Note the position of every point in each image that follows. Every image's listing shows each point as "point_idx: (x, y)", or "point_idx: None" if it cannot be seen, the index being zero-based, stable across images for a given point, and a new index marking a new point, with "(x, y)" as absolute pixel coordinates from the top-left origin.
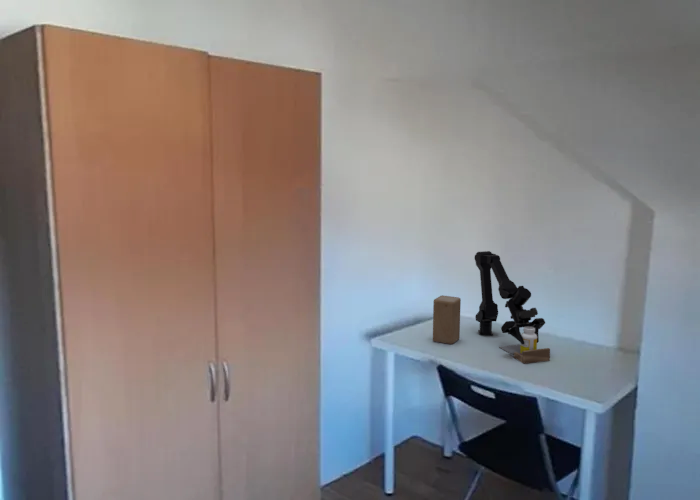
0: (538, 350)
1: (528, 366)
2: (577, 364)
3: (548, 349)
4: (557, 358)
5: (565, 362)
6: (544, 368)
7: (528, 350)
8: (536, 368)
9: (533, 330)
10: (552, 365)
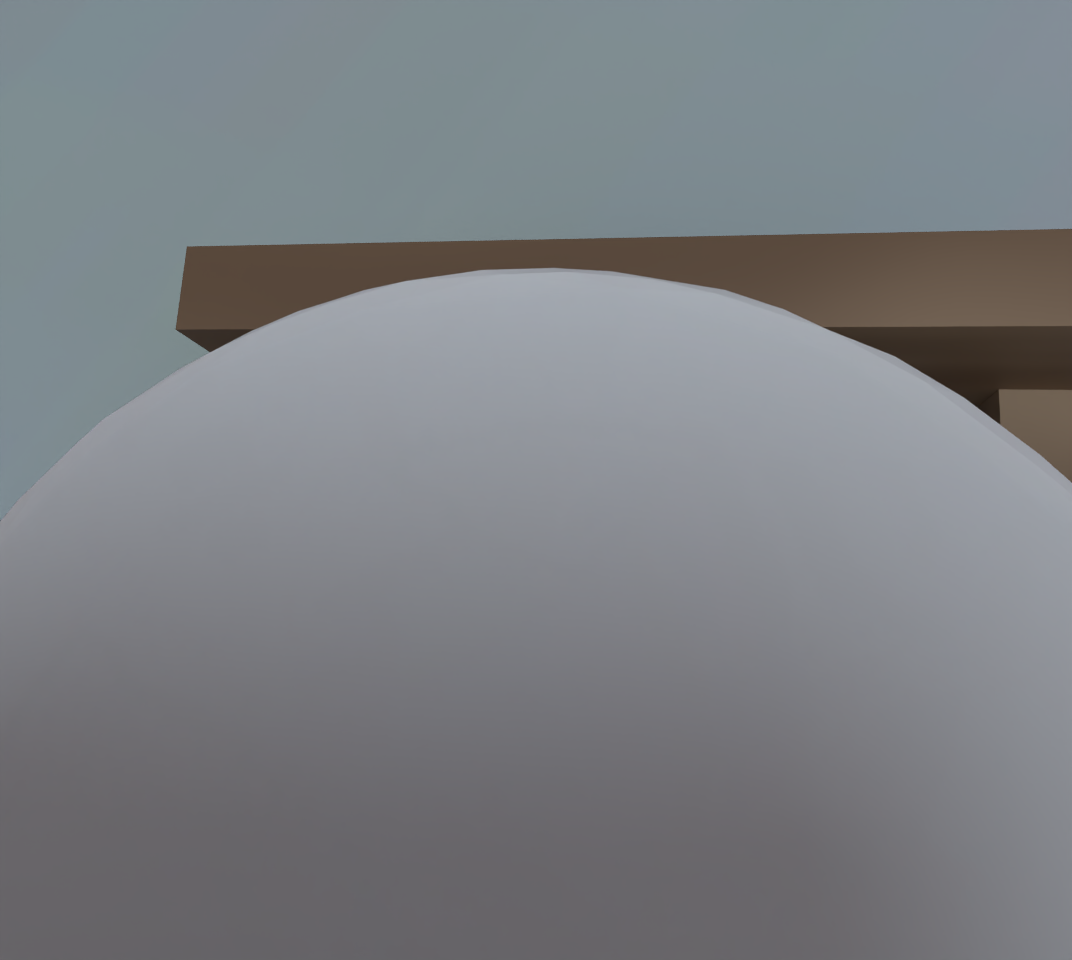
0: (597, 243)
1: (1011, 184)
2: (18, 38)
3: (249, 249)
4: (97, 413)
5: (127, 178)
6: (737, 6)
7: (941, 312)
8: (904, 42)
9: (432, 316)
10: (470, 106)
